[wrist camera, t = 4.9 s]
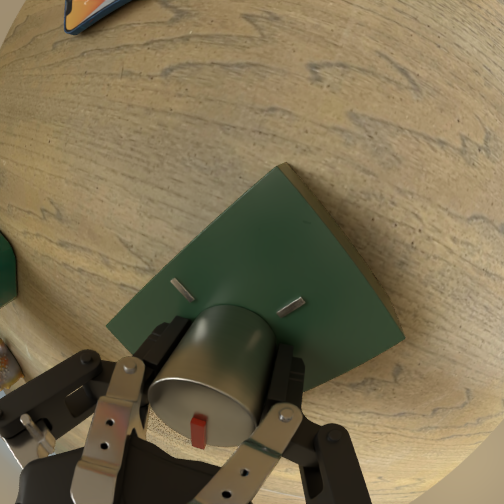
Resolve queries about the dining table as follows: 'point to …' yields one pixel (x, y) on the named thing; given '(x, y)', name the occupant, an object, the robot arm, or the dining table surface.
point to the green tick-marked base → (275, 281)
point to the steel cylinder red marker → (217, 378)
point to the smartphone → (87, 13)
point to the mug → (8, 368)
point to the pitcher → (7, 273)
